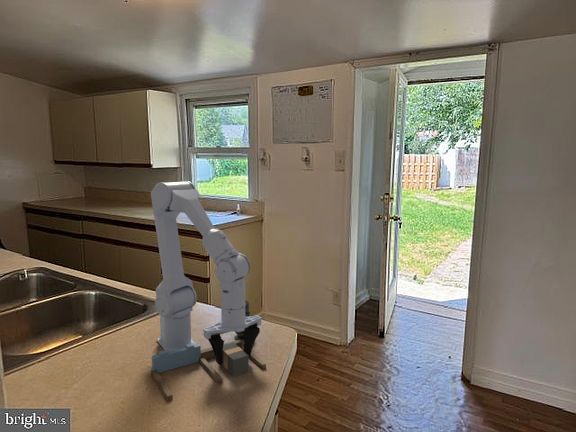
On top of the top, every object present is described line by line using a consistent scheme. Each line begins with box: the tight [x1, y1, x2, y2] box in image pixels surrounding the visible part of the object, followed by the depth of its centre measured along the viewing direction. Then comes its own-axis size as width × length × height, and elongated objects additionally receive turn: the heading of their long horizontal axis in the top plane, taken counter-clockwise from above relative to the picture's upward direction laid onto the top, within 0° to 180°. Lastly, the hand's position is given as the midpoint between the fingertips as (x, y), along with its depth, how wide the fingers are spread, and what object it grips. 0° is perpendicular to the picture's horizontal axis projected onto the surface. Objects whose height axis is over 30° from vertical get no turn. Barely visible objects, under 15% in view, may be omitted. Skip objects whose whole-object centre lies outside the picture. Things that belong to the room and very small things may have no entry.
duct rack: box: [151, 340, 267, 402], centre depth 93 cm, size 13×24×5 cm, turn 125°
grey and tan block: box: [221, 341, 250, 377], centre depth 95 cm, size 8×4×4 cm, turn 35°
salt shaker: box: [233, 299, 251, 343], centre depth 110 cm, size 6×6×12 cm
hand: (233, 358), depth 95 cm, fingers open, 7 cm apart
